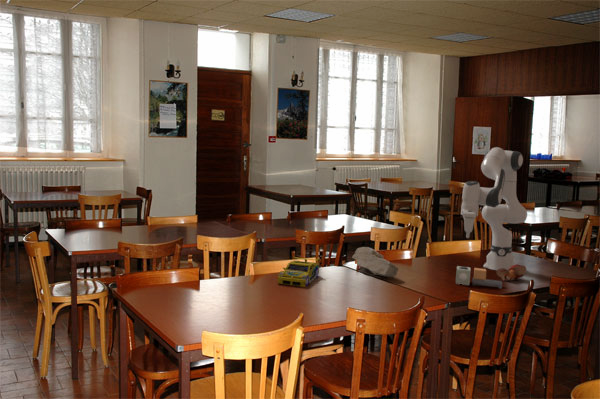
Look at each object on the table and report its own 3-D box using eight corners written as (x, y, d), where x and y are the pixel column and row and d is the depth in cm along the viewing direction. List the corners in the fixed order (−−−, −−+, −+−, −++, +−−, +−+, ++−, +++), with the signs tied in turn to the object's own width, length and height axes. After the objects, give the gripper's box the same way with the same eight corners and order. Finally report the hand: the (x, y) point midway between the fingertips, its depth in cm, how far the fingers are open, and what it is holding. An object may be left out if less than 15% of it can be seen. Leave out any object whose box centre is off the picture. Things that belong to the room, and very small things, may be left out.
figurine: (523, 283, 314) (538, 273, 323) (517, 267, 314) (532, 258, 323) (494, 287, 330) (508, 278, 338) (488, 273, 330) (503, 264, 339)
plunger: (459, 275, 317) (460, 266, 316) (466, 276, 316) (467, 267, 315) (459, 277, 313) (460, 267, 313) (466, 277, 312) (467, 268, 312)
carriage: (473, 280, 316) (474, 267, 315) (484, 282, 314) (486, 269, 313) (473, 283, 311) (474, 269, 310) (485, 284, 309) (486, 271, 309)
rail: (472, 282, 316) (472, 277, 316) (501, 285, 312) (501, 280, 312) (472, 285, 311) (472, 279, 311) (502, 288, 307) (502, 282, 307)
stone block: (392, 286, 314) (405, 262, 316) (379, 278, 309) (392, 253, 312) (355, 273, 343) (367, 251, 346) (343, 265, 338) (355, 243, 341)
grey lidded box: (455, 280, 320) (457, 266, 319) (469, 281, 318) (470, 267, 317) (455, 284, 312) (456, 269, 311) (469, 285, 310) (470, 270, 309)
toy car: (276, 284, 297) (277, 265, 295) (292, 272, 322) (293, 254, 321) (306, 288, 292) (306, 268, 291) (320, 276, 318) (321, 257, 317)
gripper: (463, 208, 322) (461, 233, 324) (463, 214, 302) (461, 240, 304) (475, 209, 320) (473, 234, 322) (476, 215, 301) (473, 241, 302)
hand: (467, 237), depth 313 cm, fingers closed
